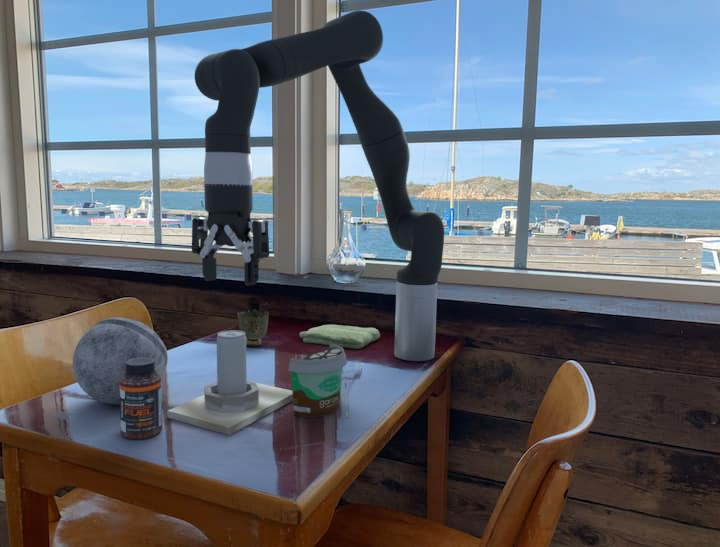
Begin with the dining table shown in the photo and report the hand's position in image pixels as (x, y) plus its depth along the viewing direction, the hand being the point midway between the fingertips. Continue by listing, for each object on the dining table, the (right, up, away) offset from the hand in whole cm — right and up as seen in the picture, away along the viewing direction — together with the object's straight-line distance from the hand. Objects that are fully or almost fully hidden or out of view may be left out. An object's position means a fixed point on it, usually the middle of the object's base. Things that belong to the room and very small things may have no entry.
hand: (230, 282), depth 91 cm
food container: (+15, -22, +4) cm, 27 cm away
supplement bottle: (-12, -23, -7) cm, 27 cm away
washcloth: (+16, -16, +50) cm, 55 cm away
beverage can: (0, -21, +3) cm, 21 cm away
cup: (-4, -16, +43) cm, 46 cm away
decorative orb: (-20, -21, +6) cm, 30 cm away
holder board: (0, -22, +4) cm, 22 cm away
